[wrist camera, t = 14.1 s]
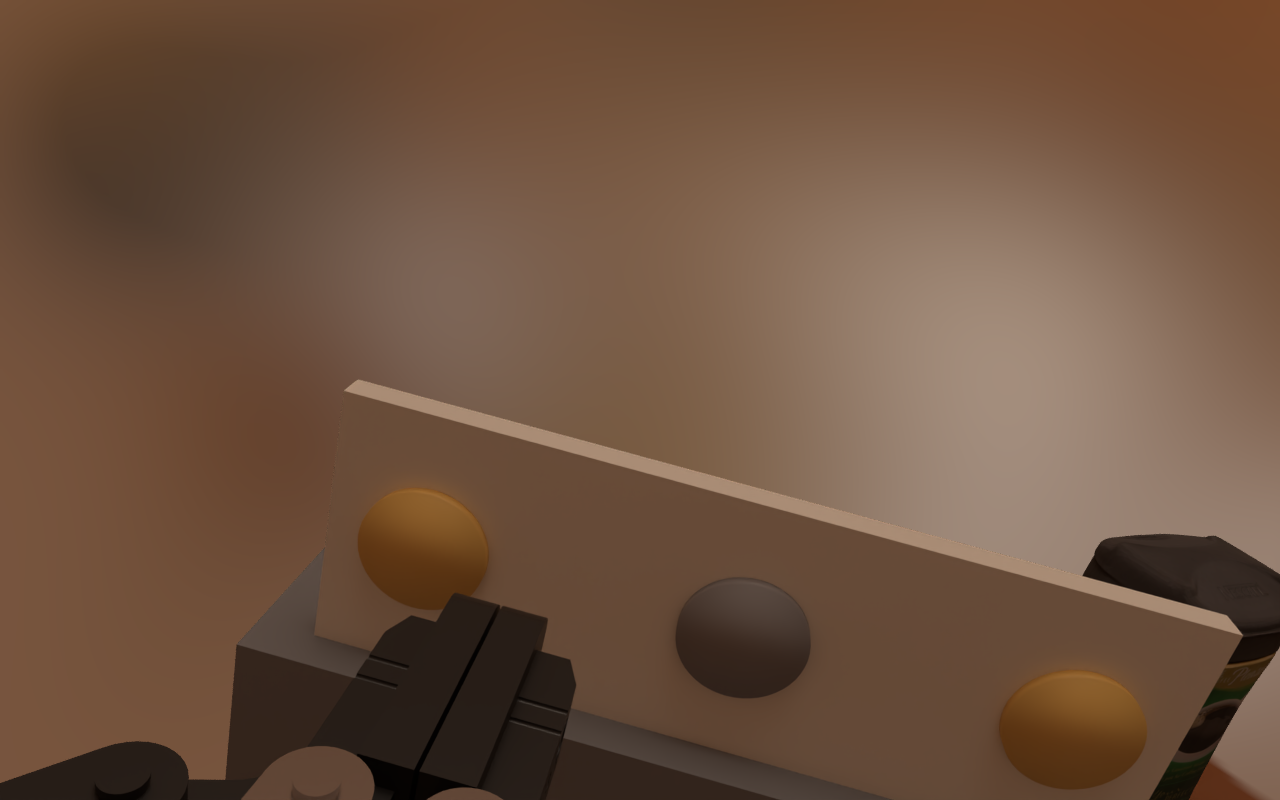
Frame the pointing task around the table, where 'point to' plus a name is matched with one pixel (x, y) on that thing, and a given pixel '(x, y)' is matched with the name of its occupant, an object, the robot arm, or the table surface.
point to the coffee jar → (1213, 582)
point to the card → (764, 613)
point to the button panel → (590, 753)
